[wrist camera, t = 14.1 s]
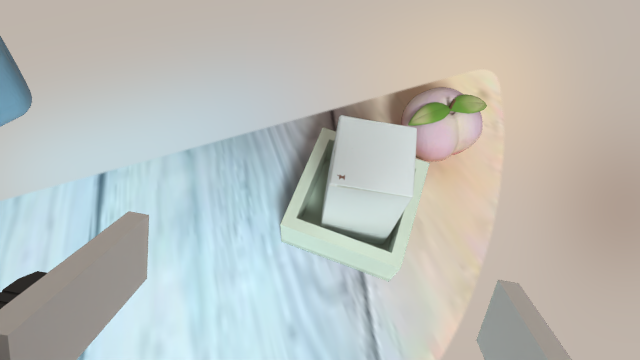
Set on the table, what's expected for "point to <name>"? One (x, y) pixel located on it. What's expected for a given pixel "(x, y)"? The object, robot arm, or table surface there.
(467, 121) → the decorative fruit
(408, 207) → the open square container
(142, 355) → the table surface
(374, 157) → the supplement box
